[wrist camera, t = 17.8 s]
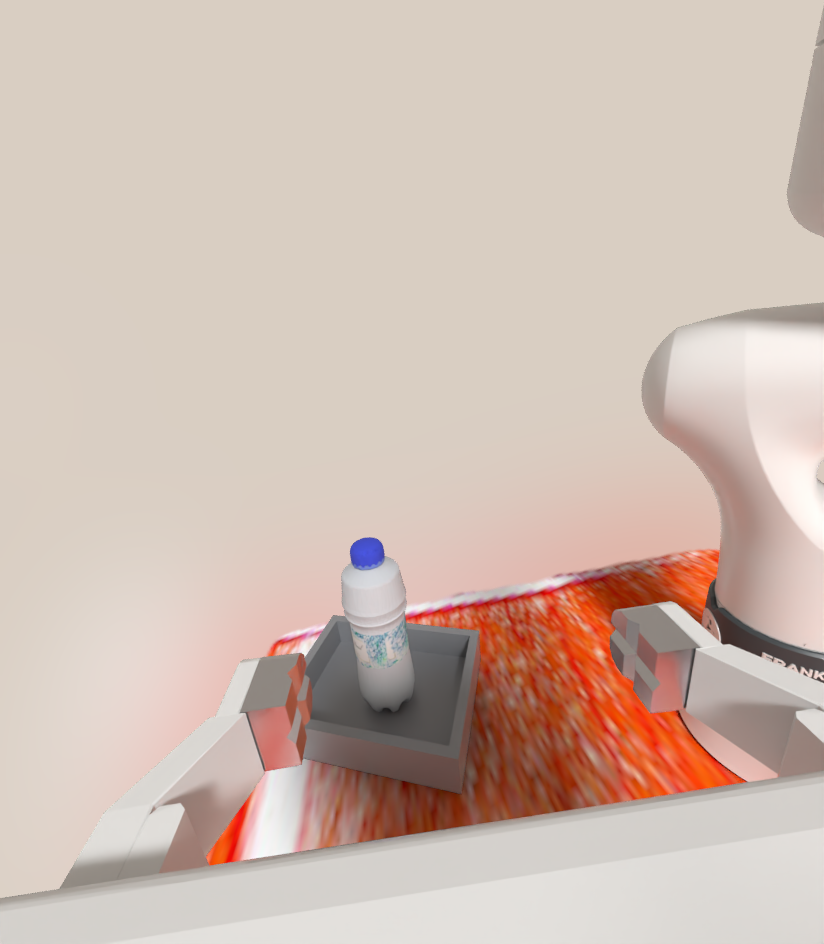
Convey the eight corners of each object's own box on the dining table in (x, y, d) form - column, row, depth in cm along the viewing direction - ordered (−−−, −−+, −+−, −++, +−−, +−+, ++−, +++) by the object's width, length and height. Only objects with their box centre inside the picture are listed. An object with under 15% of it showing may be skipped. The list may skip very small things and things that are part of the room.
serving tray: (480, 659, 50) (479, 630, 49) (461, 794, 36) (458, 759, 34) (338, 641, 56) (333, 615, 55) (272, 751, 42) (263, 719, 40)
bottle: (355, 682, 48) (327, 535, 41) (408, 664, 50) (389, 520, 43) (367, 730, 42) (336, 566, 35) (426, 707, 43) (407, 548, 37)
